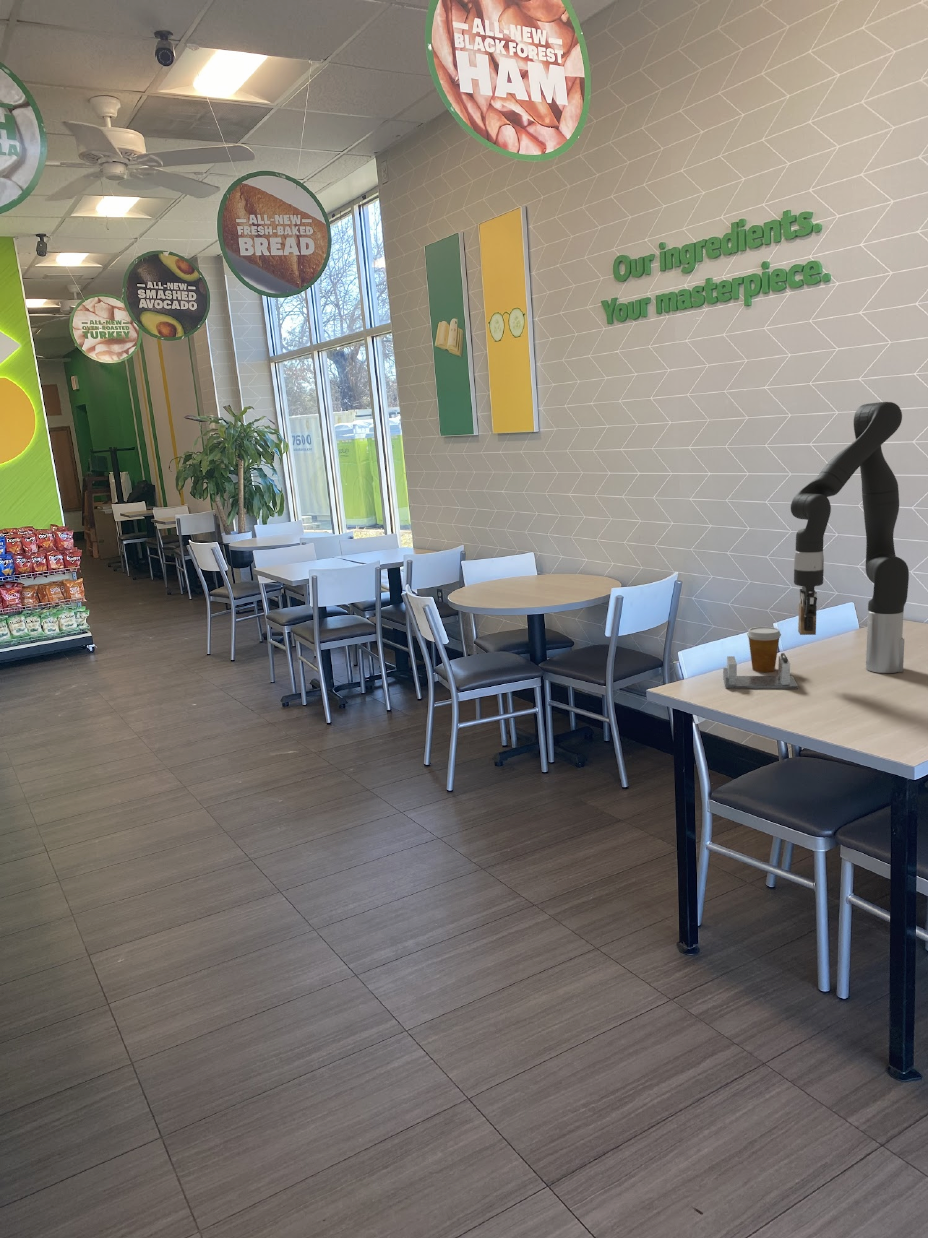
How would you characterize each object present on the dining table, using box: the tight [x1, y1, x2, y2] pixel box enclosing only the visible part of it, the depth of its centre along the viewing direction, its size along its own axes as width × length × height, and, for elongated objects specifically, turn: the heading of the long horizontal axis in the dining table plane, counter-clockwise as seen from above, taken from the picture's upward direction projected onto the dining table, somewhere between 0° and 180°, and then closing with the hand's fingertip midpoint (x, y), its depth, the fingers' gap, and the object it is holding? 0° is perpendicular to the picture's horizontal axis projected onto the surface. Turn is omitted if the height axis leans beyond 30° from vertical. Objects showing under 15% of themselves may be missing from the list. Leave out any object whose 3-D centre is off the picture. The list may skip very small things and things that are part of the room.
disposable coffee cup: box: [746, 626, 782, 673], centre depth 265 cm, size 10×10×12 cm
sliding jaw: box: [777, 652, 791, 685], centre depth 251 cm, size 2×8×7 cm, turn 168°
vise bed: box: [722, 656, 799, 690], centre depth 252 cm, size 19×10×7 cm, turn 78°
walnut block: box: [797, 602, 818, 636], centre depth 248 cm, size 4×4×8 cm
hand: (807, 628), depth 249 cm, fingers closed on walnut block, 4 cm apart
